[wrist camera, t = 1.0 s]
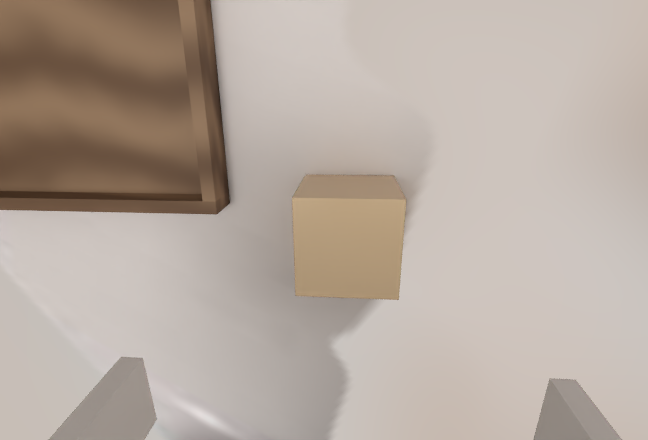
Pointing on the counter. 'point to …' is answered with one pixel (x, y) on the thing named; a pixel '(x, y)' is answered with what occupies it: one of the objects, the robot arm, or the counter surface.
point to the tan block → (348, 236)
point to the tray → (110, 107)
